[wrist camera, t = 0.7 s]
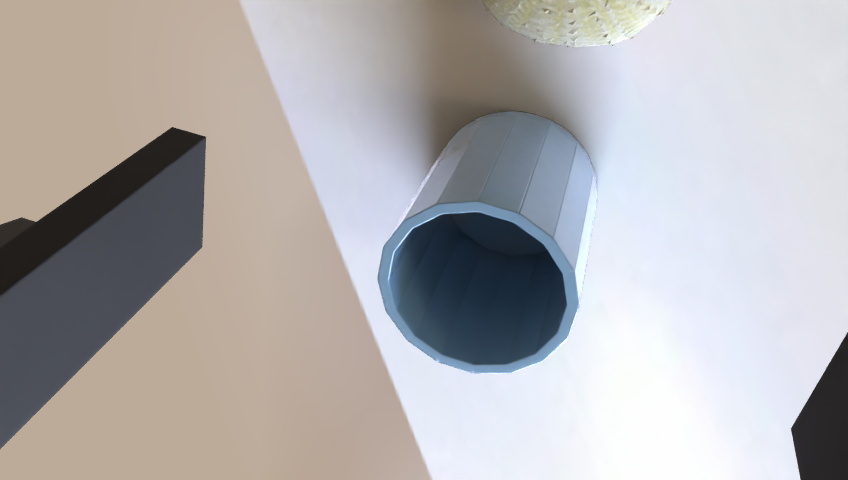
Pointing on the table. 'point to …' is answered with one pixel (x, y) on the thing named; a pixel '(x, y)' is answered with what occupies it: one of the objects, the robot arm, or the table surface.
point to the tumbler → (494, 246)
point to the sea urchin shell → (576, 19)
